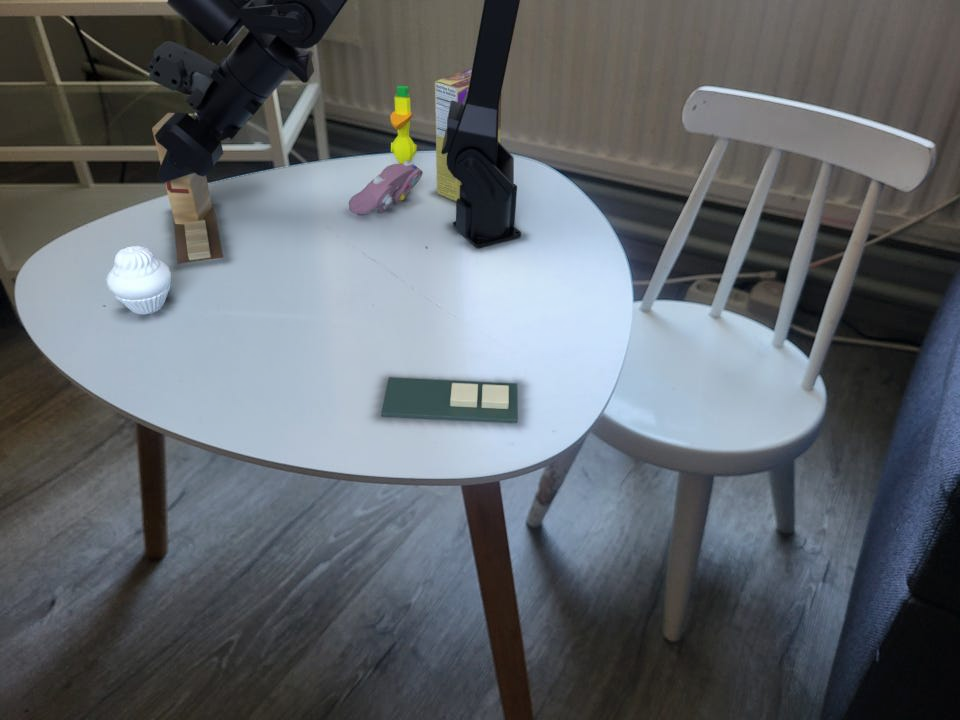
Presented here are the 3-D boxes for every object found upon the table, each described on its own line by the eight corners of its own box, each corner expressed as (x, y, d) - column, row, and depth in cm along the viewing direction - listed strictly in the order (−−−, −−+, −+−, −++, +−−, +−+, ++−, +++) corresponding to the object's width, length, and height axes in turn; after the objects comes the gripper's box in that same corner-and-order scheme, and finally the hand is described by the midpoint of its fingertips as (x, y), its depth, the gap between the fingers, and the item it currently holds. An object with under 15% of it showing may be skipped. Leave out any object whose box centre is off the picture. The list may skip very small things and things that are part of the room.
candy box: (476, 173, 107) (480, 63, 97) (499, 182, 104) (506, 71, 95) (434, 193, 101) (433, 79, 92) (457, 203, 99) (459, 87, 90)
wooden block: (212, 206, 95) (193, 113, 88) (199, 225, 91) (177, 130, 84) (189, 205, 95) (168, 112, 88) (174, 224, 91) (151, 128, 84)
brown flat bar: (173, 211, 95) (170, 203, 94) (214, 206, 96) (212, 198, 95) (178, 266, 84) (175, 257, 84) (223, 260, 86) (222, 251, 85)
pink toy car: (369, 232, 95) (386, 193, 90) (343, 209, 96) (359, 169, 90) (414, 204, 102) (433, 166, 97) (390, 182, 102) (407, 143, 97)
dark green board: (381, 416, 66) (380, 406, 65) (388, 380, 70) (388, 370, 69) (516, 423, 66) (517, 413, 65) (516, 386, 70) (517, 376, 69)
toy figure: (410, 185, 103) (408, 98, 96) (385, 182, 103) (380, 95, 96) (420, 165, 108) (419, 81, 101) (396, 163, 108) (393, 79, 101)
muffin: (149, 284, 81) (133, 227, 77) (191, 300, 79) (177, 242, 75) (102, 312, 77) (82, 252, 73) (145, 330, 75) (127, 270, 70)
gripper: (214, -2, 86) (143, 90, 93) (153, 44, 72) (73, 149, 78) (291, 71, 91) (217, 153, 98) (247, 128, 76) (165, 220, 83)
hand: (171, 166), depth 89 cm, fingers open, 7 cm apart
